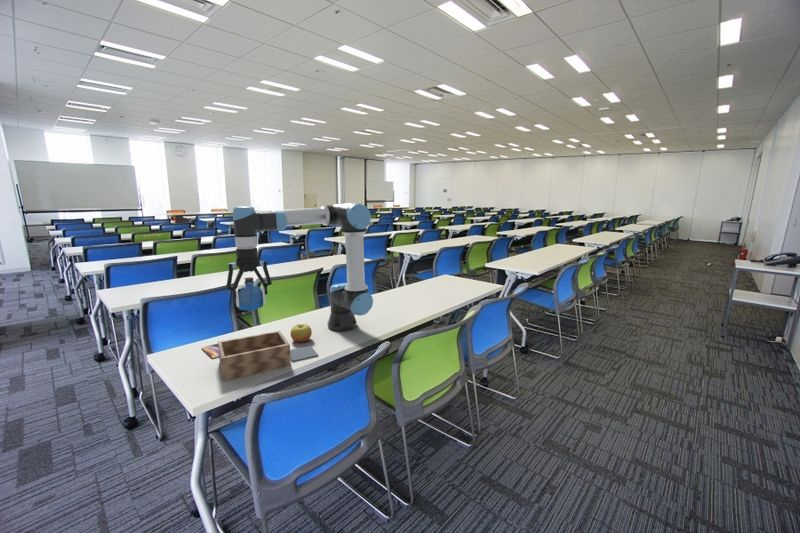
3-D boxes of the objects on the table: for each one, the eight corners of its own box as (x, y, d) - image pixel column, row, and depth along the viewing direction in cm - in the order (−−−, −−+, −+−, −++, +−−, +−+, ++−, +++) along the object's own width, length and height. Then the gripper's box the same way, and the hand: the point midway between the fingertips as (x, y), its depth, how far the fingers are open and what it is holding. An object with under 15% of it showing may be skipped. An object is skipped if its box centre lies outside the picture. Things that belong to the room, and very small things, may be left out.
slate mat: (310, 346, 156) (310, 345, 156) (318, 356, 147) (318, 354, 147) (285, 352, 150) (285, 350, 150) (292, 362, 141) (292, 360, 141)
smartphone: (211, 358, 143) (200, 347, 153) (211, 360, 143) (200, 349, 153) (230, 353, 148) (218, 342, 158) (230, 354, 148) (218, 344, 158)
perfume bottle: (263, 306, 137) (261, 277, 135) (252, 311, 131) (250, 280, 129) (250, 305, 139) (247, 276, 136) (239, 309, 133) (236, 279, 130)
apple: (286, 340, 163) (285, 324, 161) (304, 334, 170) (304, 319, 168) (297, 346, 156) (297, 329, 155) (316, 340, 163) (315, 324, 162)
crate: (281, 349, 153) (279, 330, 151) (290, 365, 138) (289, 344, 136) (219, 362, 140) (217, 341, 138) (223, 381, 126) (221, 358, 124)
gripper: (273, 244, 139) (277, 298, 143) (214, 248, 128) (219, 306, 132) (277, 246, 133) (281, 302, 137) (215, 250, 122) (221, 311, 126)
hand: (251, 304), depth 135 cm, fingers closed on perfume bottle, 9 cm apart
